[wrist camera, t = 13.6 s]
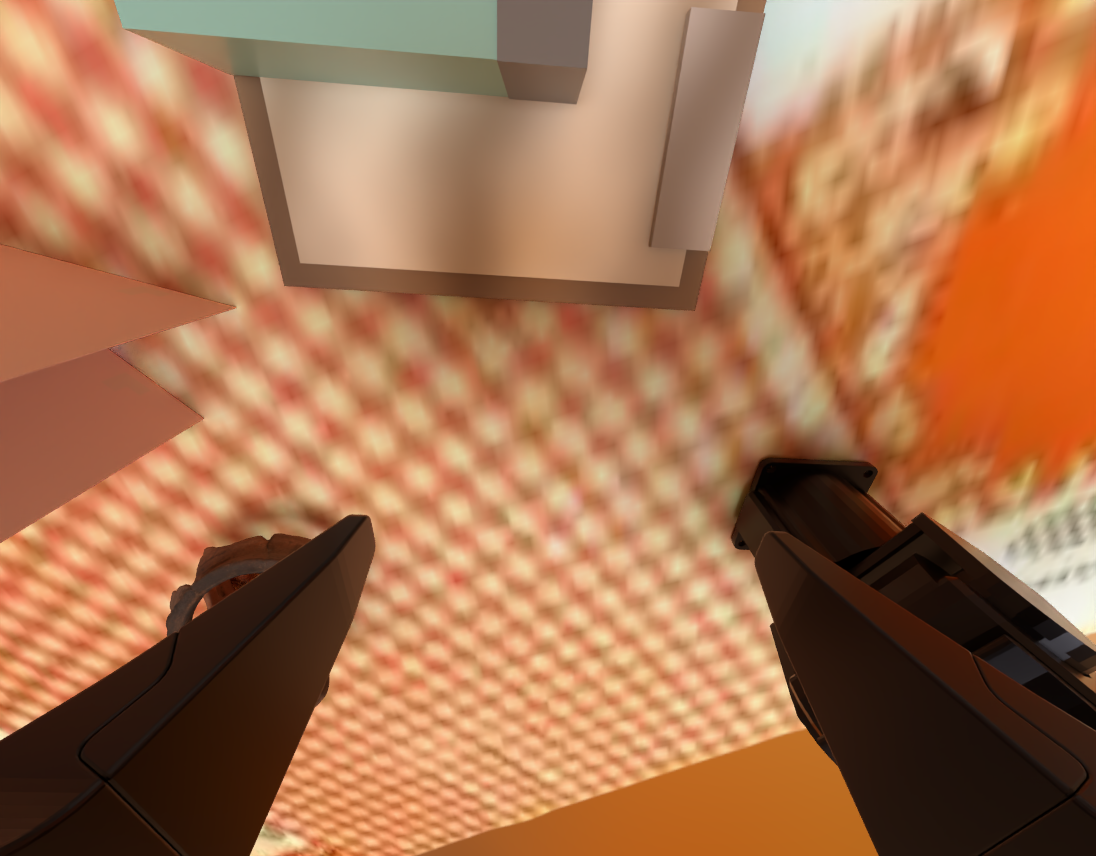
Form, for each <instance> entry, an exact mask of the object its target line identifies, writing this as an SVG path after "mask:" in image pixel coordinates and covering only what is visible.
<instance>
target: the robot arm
mask: <svg viewBox="0 0 1096 856" xmlns="http://www.w3.org/2000/svg"><path fill="white" fill-rule="evenodd" d="M770 466H772V467H771V468H770V469H767V468H768V467H770ZM877 472H878V471H877V469H876V468H875V467H874V466H873V465H871V464H870V463H865V462H844V461H823V460H802V459H781V458H767V459H765V460H763V461H762V462H761V463H760V464H759V467H758V469H757V472H756V475H755V477H754V480H753V483H752V486H751V488H750V491H749V493H748V494H747V496H746V499H745V501H744V504H743V507H742V509H741V512H740V515H739V518H738V520H737V523H736V529H735V531H734V534H733V537H732V543H733V545H734V546H735V548H737V549H741V550H750V551H751V553H752V554H753V556H754V557H755V567H756V571H757V574H758V577H759V580H760V583H761V585H762V588H763V591H764V594H765V597H766V600H767V603H768V606H769V609H770V612H771V615H772V618H773V621H774V623H772V624H771V625H770V628H771V631H772V634H773V638H774V641H775V645H776V648H777V651H778V655H779V658H780V662H781V665H782V668H783V672H784V675H785V679H786V682H787V685H788V689H789V692H790V696H791V698H792V701H793V704H794V707H795V710H796V713H797V716H798V718H799V719H800V721H801V722H802V723H803V724H804V725H805V727H806V728H807V730H808V731H809V733H810V734H811V735H812V737H813V738H814V739H815V741H816V742H817V744H818V745H819V746H820V747H821V748H822V749H823V751H825V753H826V754H827V755H828V756H829V757H830V758H831V759H832V760H833V761H834V762H835V764H836V765H837V766H838V767H839V769H840V771H841V774H842V776H843V778H844V780H845V782H846V785H847V787H848V789H849V791H850V794H851V796H852V798H853V800H854V802H855V805H856V807H857V809H858V811H859V813H860V816H861V818H862V820H863V822H864V824H865V827H866V829H867V831H868V833H869V836H870V838H871V840H872V842H873V844H874V846H875V849H876V851H877V853H878V855H879V856H1096V672H1095V671H1096V645H1095V644H1094V643H1093V642H1091V641H1090V640H1089V639H1088V638H1087V637H1086V636H1085V635H1084V634H1083V633H1082V632H1080V631H1079V630H1078V629H1077V628H1076V627H1075V626H1074V625H1073V624H1072V623H1071V622H1069V621H1068V620H1067V619H1066V618H1065V617H1064V616H1063V615H1062V614H1061V613H1059V612H1058V611H1057V610H1056V609H1055V608H1054V607H1053V606H1052V605H1051V604H1049V603H1048V602H1047V601H1046V600H1045V599H1044V598H1043V597H1042V596H1040V595H1039V594H1038V593H1037V592H1035V591H1034V590H1033V589H1031V588H1030V587H1029V586H1027V585H1026V584H1025V583H1023V582H1022V581H1021V580H1019V579H1018V578H1017V577H1015V576H1014V575H1013V574H1011V573H1010V572H1009V571H1008V570H1006V569H1005V568H1004V567H1002V566H1001V565H1000V564H998V563H997V562H996V561H994V560H993V559H992V558H990V557H989V556H988V555H986V554H985V553H984V552H982V551H981V550H979V549H978V548H976V547H974V546H973V545H971V544H970V543H968V542H967V541H965V540H964V539H962V538H961V537H959V536H958V535H956V534H955V533H953V532H952V531H950V530H949V529H947V528H946V527H944V526H943V525H941V524H939V523H938V522H936V521H935V520H933V519H932V518H930V517H929V516H927V515H926V514H924V513H923V512H922V513H921V514H919V515H918V516H916V517H915V518H914V519H912V520H911V521H912V522H913V523H911V524H910V525H909V526H907V527H905V526H904V525H903V524H902V523H901V522H899V521H898V520H897V519H896V518H895V517H894V516H893V515H891V514H890V513H889V512H888V511H887V510H886V509H885V508H883V507H882V506H881V505H880V504H879V503H878V502H877V501H875V500H874V499H873V498H872V497H871V496H870V495H869V494H867V491H868V490H869V488H870V486H871V484H872V482H873V480H874V479H875V477H876V475H877ZM740 541H741V542H740ZM374 552H375V538H374V533H373V528H372V523H371V519H370V517H369V516H367V515H353V514H352V515H348V516H346V517H345V518H343V519H342V520H340V521H339V522H337V523H336V524H334V525H333V526H331V527H330V528H328V529H327V530H325V531H324V532H323V533H321V534H320V535H318V536H317V537H315V538H314V539H312V540H311V541H309V542H308V543H306V544H305V545H303V546H302V547H300V548H299V549H297V550H296V551H294V552H293V553H291V554H290V555H288V556H287V557H285V558H284V559H282V560H281V561H279V562H278V563H276V564H275V565H273V566H272V567H270V568H269V569H267V570H266V571H264V572H263V573H261V574H260V575H258V576H257V577H256V578H254V579H253V580H251V581H250V582H248V583H247V584H245V585H244V586H242V587H241V588H239V589H238V590H236V591H235V592H233V593H232V594H230V595H229V596H227V597H226V598H224V599H223V600H221V601H220V602H218V603H217V604H215V605H214V606H212V607H211V608H209V609H208V610H206V611H205V612H203V613H202V614H200V615H199V616H197V617H196V618H194V619H193V620H191V621H190V622H189V623H187V624H186V625H184V626H183V627H181V628H180V629H179V632H173V633H172V634H170V635H169V636H167V637H166V638H164V639H163V640H161V641H160V642H159V643H157V644H156V645H154V646H153V647H151V648H150V649H148V650H146V651H145V652H143V653H142V654H140V655H139V656H137V657H136V658H134V659H133V660H131V661H130V662H128V663H126V664H125V665H123V666H122V667H120V668H119V669H117V670H116V671H114V672H113V673H111V674H109V675H108V676H106V677H105V678H103V679H101V680H100V681H98V682H96V683H95V684H93V685H92V686H90V687H88V688H87V689H85V690H83V691H82V692H80V693H79V694H77V695H75V696H74V697H72V698H70V699H69V700H67V701H66V702H64V703H62V704H61V705H59V706H57V707H56V708H54V709H52V710H51V711H49V712H47V713H46V714H44V715H42V716H41V717H39V718H37V719H36V720H34V721H32V722H31V723H29V724H27V725H26V726H24V727H22V728H21V729H19V730H17V731H16V732H14V733H12V734H11V735H9V736H7V737H6V738H4V739H2V740H1V741H0V856H250V854H251V851H252V849H253V847H254V845H255V842H256V840H257V838H258V835H259V833H260V831H261V829H262V826H263V824H264V822H265V819H266V817H267V815H268V813H269V810H270V808H271V806H272V803H273V801H274V799H275V797H276V794H277V792H278V790H279V788H280V785H281V783H282V781H283V778H284V776H285V774H286V772H287V769H288V767H289V765H290V762H291V760H292V758H293V756H294V753H295V751H296V749H297V747H298V744H299V742H300V740H301V737H302V735H303V733H304V731H305V728H306V726H307V724H308V721H309V719H310V717H311V715H312V712H313V710H314V708H315V706H316V703H317V701H318V699H319V696H320V694H321V692H322V690H323V687H324V685H325V683H326V680H327V678H328V676H329V674H330V671H331V669H332V667H333V665H334V662H335V660H336V658H337V655H338V653H339V651H340V649H341V646H342V644H343V642H344V639H345V637H346V635H347V633H348V630H349V628H350V625H351V623H352V621H353V618H354V615H355V612H356V609H357V606H358V603H359V600H360V597H361V594H362V591H363V587H364V584H365V581H366V578H367V575H368V571H369V568H370V565H371V562H372V559H373V556H374Z"/></svg>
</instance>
